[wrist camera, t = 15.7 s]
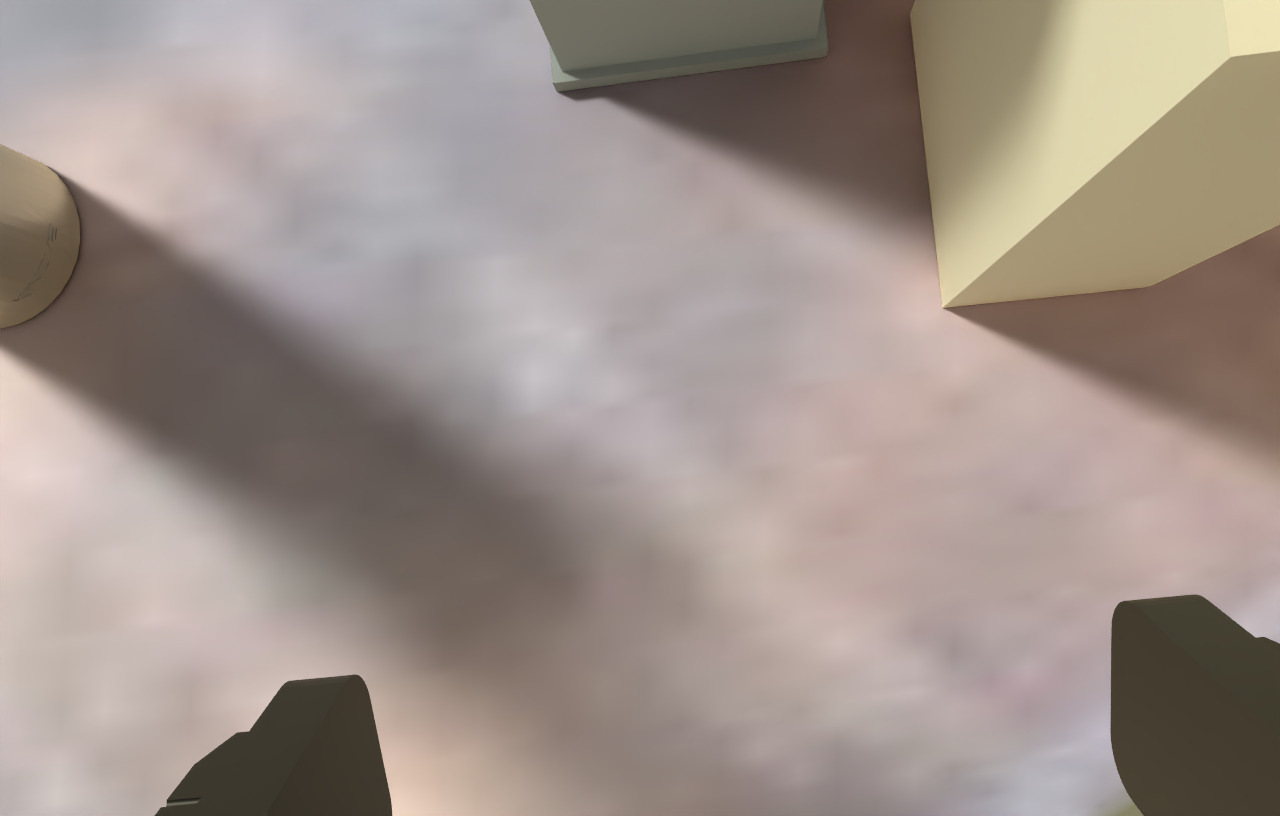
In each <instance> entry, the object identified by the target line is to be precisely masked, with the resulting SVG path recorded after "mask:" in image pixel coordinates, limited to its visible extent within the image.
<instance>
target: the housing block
mask: <svg viewBox="0 0 1280 816" xmlns="http://www.w3.org/2000/svg"><path fill="white" fill-rule="evenodd" d="M910 20H911V29H912V38H913V47H914V56H915V65H916V74H917V83H918V92H919V101H920V110H921V119H922V128H923V137H924V146H925V155H926V164H927V173H928V182H929V191H930V200H931V209H932V218H933V227H934V236H935V245H936V254H937V262H938V271H939V280H940V289H941V298H942V307H943V308H946V307H956V306H966V305H976V304H986V303H996V302H1006V301H1016V300H1026V299H1036V298H1046V297H1056V296H1066V295H1076V294H1086V293H1096V292H1106V291H1115V290H1125V289H1135V288H1145V287H1150V286H1152V285H1154V284H1156V283H1158V282H1160V281H1163V280H1165V279H1167V278H1169V277H1171V276H1173V275H1175V274H1177V273H1179V272H1181V271H1184V270H1186V269H1188V268H1190V267H1192V266H1194V265H1196V264H1198V263H1200V262H1202V261H1205V260H1207V259H1209V258H1211V257H1213V256H1215V255H1217V254H1219V253H1221V252H1224V251H1226V250H1228V249H1230V248H1232V247H1234V246H1236V245H1238V244H1240V243H1242V242H1245V241H1247V240H1249V239H1251V238H1253V237H1255V236H1257V235H1259V234H1261V233H1263V232H1266V231H1268V230H1270V229H1272V228H1274V227H1276V226H1278V225H1280V0H915V1H914V4H913V7H912V10H911V13H910Z"/></svg>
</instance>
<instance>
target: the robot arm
mask: <svg viewBox="0 0 1280 816" xmlns="http://www.w3.org/2000/svg"><path fill="white" fill-rule="evenodd" d="M79 245H80V221H79V217H78V213H77V208H76V204H75V202H74V200H73V198H72V196H71V194H70V192H69V190H68V188H67V186H66V185H65V184H64V183H63V181H62V180H61V179H60V178H59V176H58V175H57V174H56V173H55V172H53V171H52V170H51V169H49V168H48V167H47V166H46V165H44V164H43V163H41V162H38V161H36V160H34V159H32V158H30V157H27V156H25V155H23V154H21V153H19V152H16V151H14V150H12V149H10V148H8V147H6V146H3V145H1V144H0V328H5V327H10V326H14V325H18V324H20V323H22V322H24V321H26V320H29V319H31V318H33V317H34V316H36V315H37V314H39V313H40V312H41V311H43V310H44V309H45V308H47V307H48V306H49V305H50V304H51V303H52V302H53V301H54V299H55V298H56V297H57V296H58V295H59V294H60V293H61V291H62V290H63V288H64V286H65V285H66V283H67V282H68V280H69V278H70V277H71V274H72V271H73V269H74V266H75V263H76V261H77V257H78V251H79ZM1111 743H1112V750H1113V755H1114V759H1115V763H1116V766H1117V770H1118V773H1119V775H1120V778H1121V780H1122V783H1123V785H1124V787H1125V789H1126V791H1127V793H1128V795H1129V796H1130V798H1131V799H1132V801H1133V802H1134V803H1135V805H1136V806H1137V807H1138V809H1139V810H1140V811H1141V813H1142V814H1143V815H1144V816H1280V644H1279V643H1277V642H1275V641H1272V640H1270V639H1268V638H1265V637H1259V638H1255V637H1254V636H1253V635H1251V634H1250V633H1249V632H1247V631H1246V630H1245V629H1244V628H1242V627H1241V626H1240V625H1239V624H1237V623H1236V622H1235V621H1234V620H1232V619H1231V618H1230V617H1228V616H1227V615H1226V614H1225V613H1223V612H1222V611H1221V610H1220V609H1218V608H1217V607H1216V606H1215V605H1213V604H1212V603H1211V602H1209V601H1208V600H1207V599H1205V598H1204V597H1202V596H1199V595H1184V596H1173V597H1162V598H1152V599H1141V600H1130V601H1123V602H1120V603H1119V604H1118V605H1117V607H1116V608H1115V611H1114V614H1113V618H1112V638H1111ZM155 816H392V805H391V798H390V793H389V788H388V783H387V778H386V773H385V768H384V764H383V759H382V754H381V749H380V744H379V739H378V734H377V729H376V725H375V720H374V715H373V710H372V705H371V700H370V696H369V692H368V689H367V686H366V684H365V682H364V681H363V679H362V678H361V677H360V676H358V675H347V676H337V677H326V678H315V679H305V680H294V681H288V682H286V683H285V684H284V685H283V686H282V687H281V688H280V690H279V691H278V692H277V694H276V695H275V696H274V698H273V699H272V701H271V702H270V703H269V705H268V706H267V707H266V709H265V710H264V712H263V713H262V714H261V716H260V717H259V719H258V720H257V721H256V723H255V724H254V725H253V727H252V728H251V730H250V731H249V732H239V733H236V734H235V735H233V736H232V737H231V738H229V739H228V740H227V741H225V742H224V743H223V744H221V745H220V746H219V747H217V748H216V749H215V750H213V751H212V752H211V753H209V754H208V755H207V756H205V757H204V758H203V759H201V760H200V761H199V762H197V763H196V764H195V765H194V766H193V767H192V768H191V770H190V771H189V772H188V773H187V775H186V776H185V777H184V779H183V780H182V781H181V782H180V784H179V785H178V786H177V788H176V789H175V790H174V791H173V793H172V794H171V795H170V797H169V798H168V799H167V806H166V807H162V808H160V810H159V811H158V812H157V813H156V815H155Z"/></svg>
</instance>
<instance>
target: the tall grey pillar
mask: <svg viewBox="0 0 1280 816" xmlns="http://www.w3.org/2000/svg"><path fill="white" fill-rule="evenodd" d="M530 2H531V4H532V6H533V9H534V11H535V13H536V15H537V17H538V20H539V22H540V24H541V26H542V28H543V31H544V33H545V35H546V37H547V39H548V41H549V44H550V53H551V66H552V79H553V85H554V87H555V89H556V91H557V92H560V91H567V90H575V89H583V88H591V87H598V86H606V85H614V84H621V83H629V82H637V81H645V80H652V79H660V78H668V77H675V76H683V75H691V74H699V73H706V72H714V71H722V70H729V69H737V68H745V67H753V66H760V65H768V64H776V63H783V62H791V61H799V60H807V59H814V58H822V57H827V52H828V39H827V29H826V20H825V10H824V0H530Z"/></svg>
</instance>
